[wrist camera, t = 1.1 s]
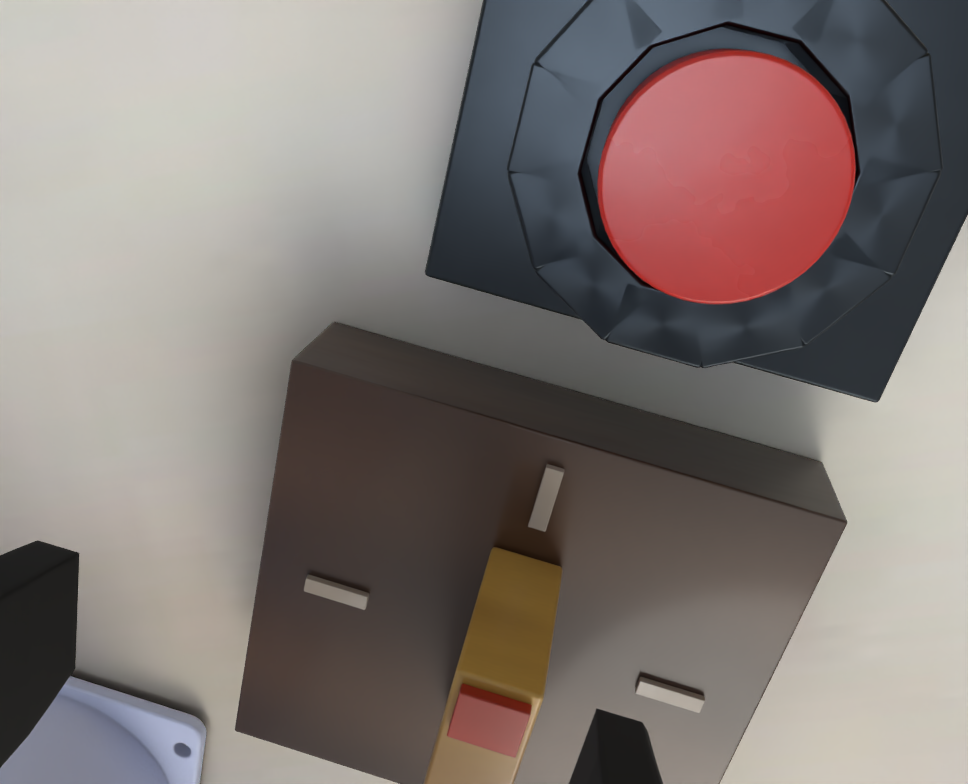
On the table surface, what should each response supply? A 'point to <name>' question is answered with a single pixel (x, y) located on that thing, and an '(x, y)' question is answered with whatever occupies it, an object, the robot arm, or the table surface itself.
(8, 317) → the table surface
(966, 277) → the table surface
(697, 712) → the plate
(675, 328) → the box
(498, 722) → the thumb turn
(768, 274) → the bell button
